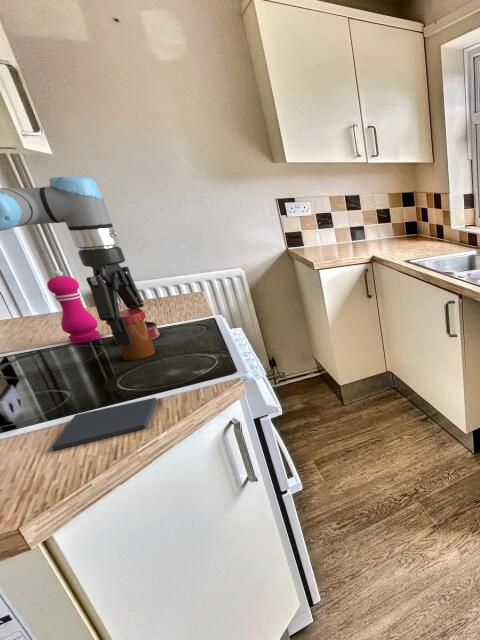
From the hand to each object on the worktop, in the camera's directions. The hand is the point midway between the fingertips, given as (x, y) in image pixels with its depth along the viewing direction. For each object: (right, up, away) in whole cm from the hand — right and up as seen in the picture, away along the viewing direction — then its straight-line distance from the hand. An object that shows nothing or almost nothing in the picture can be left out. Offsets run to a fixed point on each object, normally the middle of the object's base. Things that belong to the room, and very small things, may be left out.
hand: (133, 338), depth 106 cm
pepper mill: (-26, 0, +14) cm, 30 cm away
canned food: (-11, 0, +14) cm, 18 cm away
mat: (+22, -16, -30) cm, 40 cm away
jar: (0, -4, +2) cm, 5 cm away
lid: (0, +6, -2) cm, 6 cm away
